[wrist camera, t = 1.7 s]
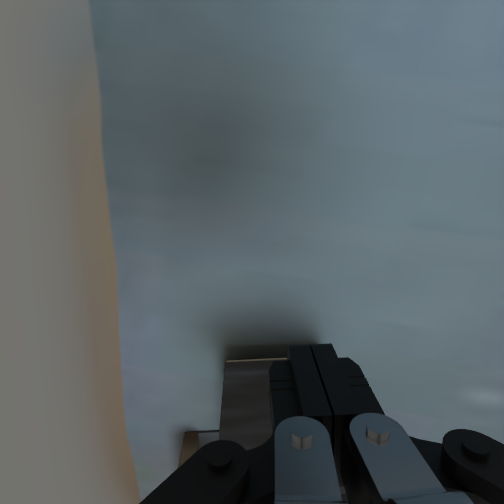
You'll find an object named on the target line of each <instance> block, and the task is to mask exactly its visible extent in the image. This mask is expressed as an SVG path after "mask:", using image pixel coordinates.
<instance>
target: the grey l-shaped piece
mask: <svg viewBox="0 0 504 504" xmlns="http://www.w3.org/2000/svg"><path fill="white" fill-rule="evenodd" d="M286 360H287V358H270V359H249V360H228V361H226V362H225V368H224V382H223V394H222V406H221V417H220V429H219V440H230V441H234V442H236V443H238V444H240V445H241V446H243V447H244V448H245V450H246V451H247V450H250V449H253V448H256V447H258V446H260V445H262V444H264V443H265V442H266V441H267V440H268V439H269V438H270V437H271V435H272V426H271V416H270V401H269V369H270V367H271V365H272V363H273V361H286ZM339 488H340V493H341V498H342V501H346V502H347V495H346V491H345V488H344V487H339Z"/></svg>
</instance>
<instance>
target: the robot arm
mask: <svg viewBox="0 0 504 504" xmlns="http://www.w3.org/2000/svg"><path fill="white" fill-rule="evenodd" d="M269 401H270V416H271V426H272V435H271V437H270V438H269V439H268V440H267V441H266V442H265V443H264V444H262V445H260V446H258V447H256V448H253V449H250V450H247V451H246V450H245V448H244V447H243V446H241V445H240V444H238V443H236V442H234V441H230V440H217V441H213V442H210V443H208V444H206V445H204V446H202V447H201V448H200V449H199V450H198V451H196V452H195V453H194V454H193V455H192V456H191V457H190V458H189V459H188V460H187V461H185V462H184V463H183V464H182V465H181V466H180V467H179V468H178V469H177V470H176V471H174V472H173V473H172V474H171V475H170V476H169V477H168V478H167V479H166V480H165V481H163V482H162V483H161V484H160V485H159V486H158V487H157V488H156V489H155V490H154V491H153V492H151V493H150V494H149V495H148V496H147V497H146V498H145V499H144V500H143V501H142V502H140V503H139V504H504V444H502V443H500V442H498V441H496V440H494V439H492V438H490V437H488V436H486V435H484V434H482V433H479V432H476V431H472V430H467V429H455V430H451V431H449V432H448V433H446V434H445V436H444V437H443V442H442V444H441V443H436V442H431V441H426V440H421V439H417V438H413V437H410V436H408V434H407V433H406V431H405V430H404V429H403V427H402V426H401V425H400V424H399V423H398V422H397V421H395V420H394V419H392V418H390V417H388V416H386V415H385V414H384V412H383V410H382V408H381V406H380V404H379V402H378V401H377V399H376V397H375V395H374V393H373V391H372V389H371V387H369V384H368V382H367V380H366V378H365V377H364V374H363V372H362V370H361V368H360V367H359V365H357V364H356V363H355V362H354V361H352V360H351V359H350V358H338V357H337V354H336V352H335V350H334V348H333V346H332V344H310V345H290V346H287V360H286V361H273V363H272V365H271V367H270V369H269ZM339 487H344V488H345V491H346V495H347V502H346V501H342V498H341V493H340V488H339Z"/></svg>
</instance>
